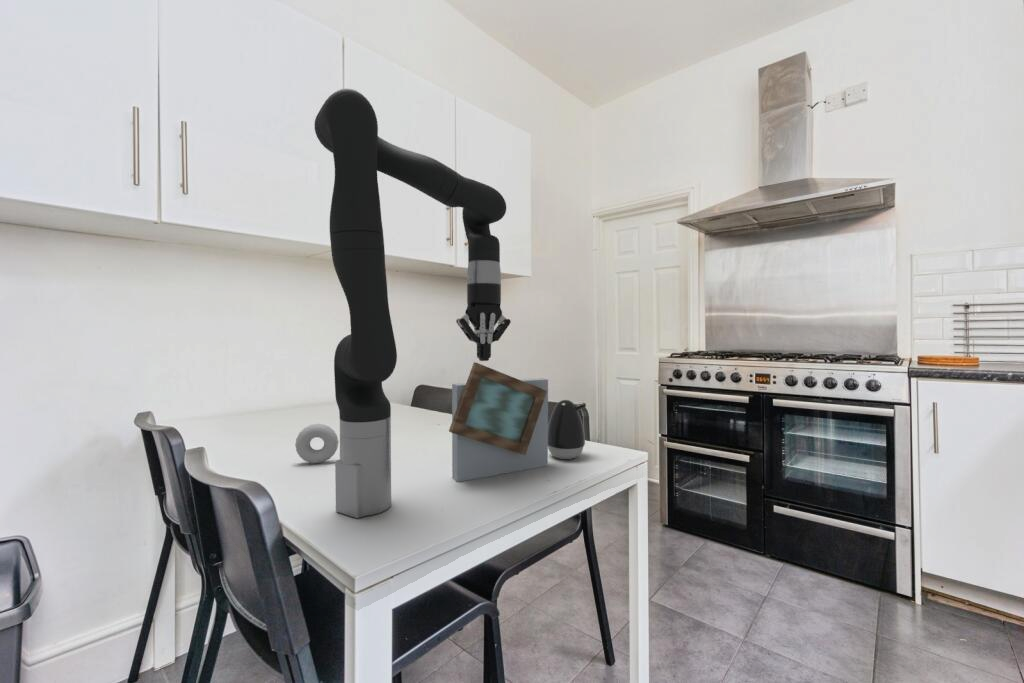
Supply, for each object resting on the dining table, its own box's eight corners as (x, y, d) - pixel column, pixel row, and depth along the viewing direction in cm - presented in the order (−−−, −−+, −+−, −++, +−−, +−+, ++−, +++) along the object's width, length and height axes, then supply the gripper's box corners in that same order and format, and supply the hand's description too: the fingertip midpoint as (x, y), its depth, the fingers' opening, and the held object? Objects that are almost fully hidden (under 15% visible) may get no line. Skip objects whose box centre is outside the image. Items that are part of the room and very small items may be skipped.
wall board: (457, 481, 98) (457, 385, 97) (452, 477, 101) (452, 383, 100) (547, 465, 110) (548, 379, 109) (541, 462, 112) (541, 378, 112)
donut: (294, 466, 108) (293, 426, 108) (297, 462, 112) (296, 423, 111) (337, 463, 111) (337, 424, 110) (339, 459, 114) (339, 421, 114)
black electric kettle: (588, 462, 112) (589, 403, 112) (547, 462, 112) (548, 403, 112) (582, 451, 122) (582, 396, 122) (544, 451, 122) (545, 396, 122)
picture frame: (451, 432, 95) (476, 362, 97) (448, 431, 96) (473, 362, 99) (525, 455, 104) (547, 390, 106) (522, 453, 105) (543, 390, 108)
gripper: (462, 280, 92) (463, 363, 93) (518, 283, 98) (517, 360, 99) (449, 283, 98) (450, 360, 99) (502, 285, 105) (502, 358, 105)
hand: (484, 360), depth 99 cm, fingers closed
